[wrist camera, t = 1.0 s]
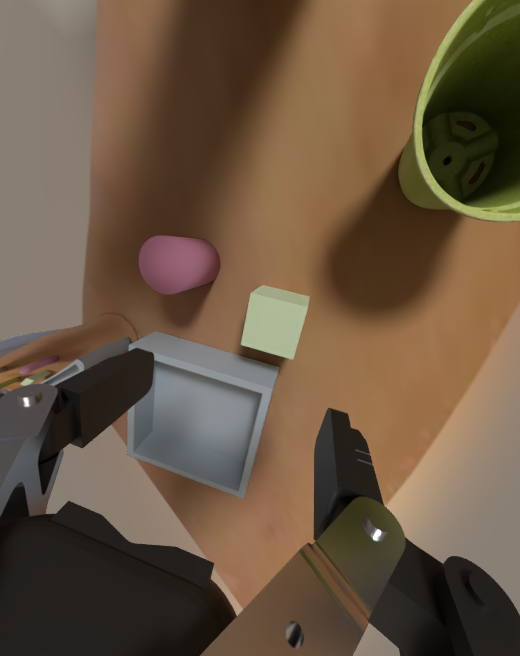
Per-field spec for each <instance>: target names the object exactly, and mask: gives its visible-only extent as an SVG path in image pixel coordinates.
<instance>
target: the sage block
mask: <svg viewBox="0 0 520 656" xmlns="http://www.w3.org/2000/svg"><path fill="white" fill-rule="evenodd" d="M308 304H309V296H305V295H301V294H297V293H293V292H289V291H285V290H281V289H277V288H272V287H268V286H264V285H262V286H260V287H259V288H257V289H256V290H254V291H253V292H251V295H250V300H249V305H248V310H247V315H246V321H245V326H244V331H243V336H242V341H241V345H243V346H247V347H250V348H254V349H257V350H261V351H264V352H268V353H271V354H275V355H278V356H282V357H285V358H289V359H292V360H293V358H294V355H295V351H296V348H297V344H298V341H299V337H300V334H301V330H302V327H303V323H304V320H305V316H306V313H307V309H308Z"/></svg>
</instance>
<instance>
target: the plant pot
mask: <svg viewBox="0 0 520 656" xmlns="http://www.w3.org/2000/svg"><path fill="white" fill-rule="evenodd" d="M459 121H469V122H472V123H473V124H475V126H476V130H475V131H471V130H470V129H468V128H466V127H463V126H460V124H459V125H457V124H456V122H459ZM446 157H450V158H451V162H450V163H449V164H448V165H444V164H443V161H444V159H445V158H446ZM481 163H483V165H484V168H483V170H482V172H481V174H480V175H479V177H478V179H477V180H476V181H475V182H473V183H472V184H470V183H469V181H470V180H471V178H472V177H473V176H474V175H475V173H476V172H477V170H478V169H479V166H480V164H481ZM398 176H399V181H400V185H401V188H402V191H403V193H404V195H405V196H406V198H407V199H408V200H409V201H411V202H412V203H413V204H415V205H417V206H419V207H422V208H426V209H451V210H453V211H454V212H456V213H459V214H461V215H464V216H466V217H470V218H474V219H478V220H484V221H493V222H518V221H520V0H473V1H472V2H471V3H470V4H469V5H468V7H467V8H466V9H465V10H464V11H463V13H462V14H461V15H460V16H459V18H458V19H457V20H456V22H455V23H454V25H453V26H452V27H451V29H450V30H449V32H448V33H447V35H446V37H445V38H444V40H443V41H442V43H441V45H440V46H439V48H438V50H437V52H436V54H435V56H434V58H433V60H432V62H431V64H430V66H429V68H428V70H427V73H426V75H425V78H424V80H423V83H422V85H421V88H420V91H419V95H418V99H417V103H416V107H415V112H414V118H413V132H412V134H411V136H410V138H409V140H408V142H407V144H406V146H405V148H404V150H403V153H402V155H401V158H400V162H399V167H398Z"/></svg>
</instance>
